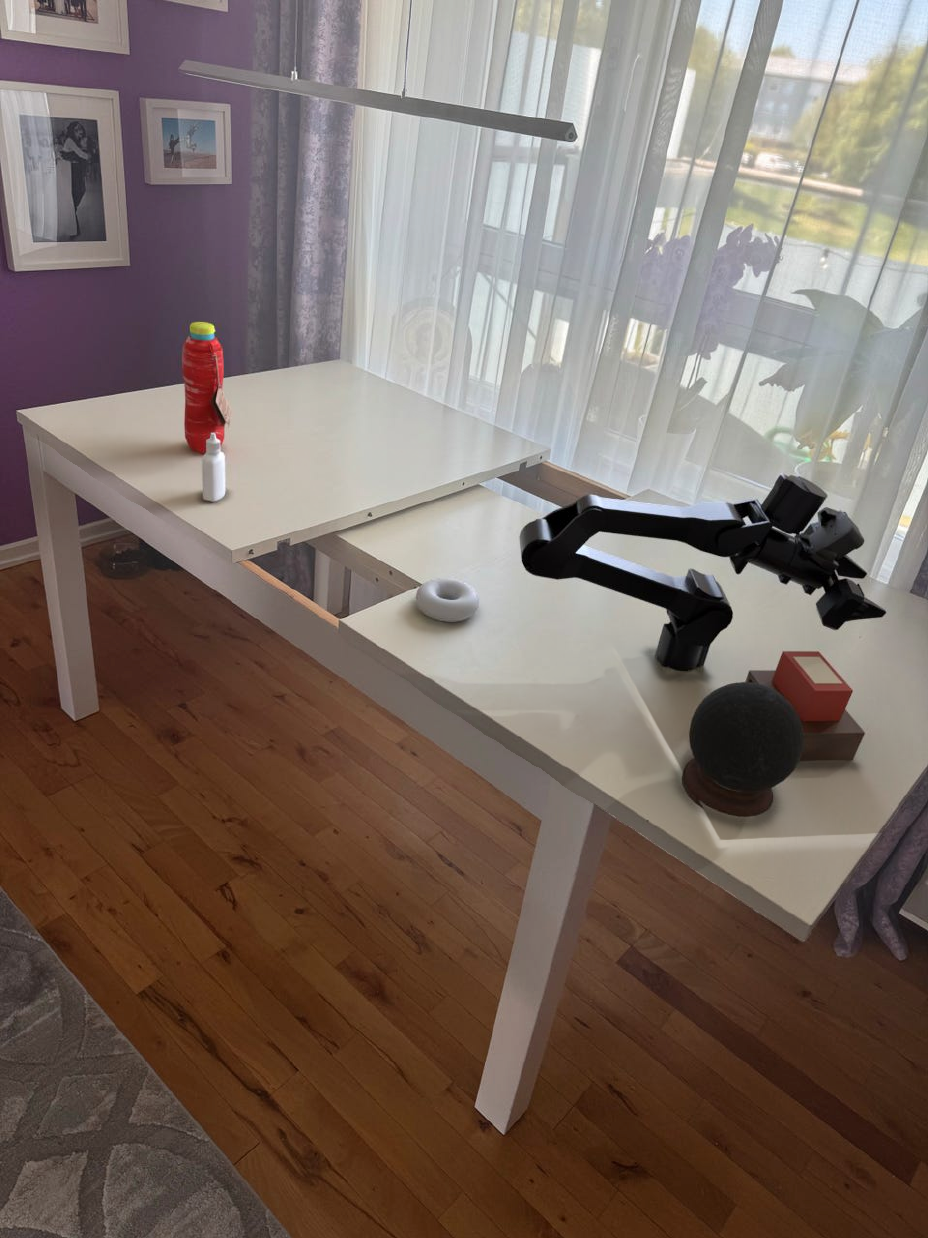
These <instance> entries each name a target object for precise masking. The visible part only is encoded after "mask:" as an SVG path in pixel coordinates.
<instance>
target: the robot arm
mask: <svg viewBox="0 0 928 1238" xmlns="http://www.w3.org/2000/svg"><path fill="white" fill-rule="evenodd" d="M827 498H828V494H827V493H826V491H824V489H822V488H821V487H819V486H818V485H817V484H815V483H814V482H812V481H810V480H809V479H807V478H805V477H803V476H801V475H797V476H796V475H792V474H790V475H787V474H785V473H780V474H779V475H778V477H777V478H776V480H775V482H774V484H773V487H772V489H771V490H770V491H769V493H768V494H767V496H766V497H765V498H764V500H763V502H762V503H760V500H759V499H757V498H751V499H747V500H746V499H745V500H742V501H737V502H732V503H731V502H727V501H706V502H705V501H700V502H697V503H694V504H690V505H688V506H675V505H668V504H658V503H648V502H641V501H635V500H634V501H632V500H625V499H616V498H608V497H601V496H599V495H595V494H586V495H584V496H582V497H580V498H579V499H577V500H576V501H574V502H573V503H570V504H568V505H565V506H562V507H560V508H557V509H555V510H553V511H551V512H549V513H548V514H546V515H545V516H543V517H542V518H535V519H534V520H532V521H530V522H528V523H526V524H525V525H524V526H523V528H522V529H521V530H520V534H519V537H518V539H519V550H520V556H521V557H520V558H521V563H522V565H523V568H524V570H525V571H526V573H529V574H530V575H532V576H535V577H540V578H544V579H552V580H558V581H559V580H567V579H580V580H582V581H585V582H587V583H591V584H594V585H597V586H599V587H602V588H605V589H607V590H611V591H613V592H617V593H620V594H622V595H626V596H628V597H631V598H634V599H636V600H640V601H643V602H645V603H648V604H651V605H654V606H657V607H660V608H662V609H665V610H666V614H667V616H668V618H669V622H668V623H663V625H662V629H661V633H660V636H659V638H658V639H659V640H658V643H657V647H656V649H655V654H654V655H655V657H656V659H657V660H658V662H659V664H660V666H661V667H662V668H669V669H671V670H674V671H678V672H684V673H685V672H691V671H694V670H695V669H697V668H701V667H703V666H704V665H705V663H706V660H707V656H708V654H709V651H710V647H711V645H712V643H713V642H714V641H715V640H716V639H717V637H718V636H719V635H720V633H721V632H722V631H724V630H726V629H727V628H728V627H729V626H730V625H731V623H732V620H733V619H734V612H733V608H732V606H731V604H730V601H729V599H728V598H727V596H726V593H725V591H724V589H723V587H722V585H721V584H720V583H719V582H718V581H717V580H716V578H715V576H714V575H713V574H704V573H702V572H699V571H698V570H696V569H695V568H691V567H690V568H688V570H687V574H686V575H683V576H671V575H668V574H666V573H663V572H660V571H657V570H655V569H652V568H649V567H646V566H644V565H641V564H638V563H635V562H632V561H629V560H628V559H627V560H626V559H624V558H621V557H619V556H615V555H612V554H610V553H607V552H604V551H601V550H600V549H599V550H598V549H596V548H593V547H590V546H587V545H585V544H586V543H587V541H588V540H589V539H590V538H592V537H593V536H595V535H596V534H598V533H599V532H600V533H606V534H607V533H609V534H616V535H625V536H631V537H632V536H633V537H641V538H649V539H658V540H659V539H660V540H666V541H667V540H668V541H675V542H679V543H683V544H686V545H689V546H690V547H692V548H694V549H696V550H697V551H700V552H703V553H706V554H709V555H714V556H716V557H720V558H729V563H730V565H731V566H732V568H733V571H734V573H735V574H736V575H741V574H742V572H743V571H744V569H746V566H747V565H748V564H750V565H753V566H755V567H758V568H761V569H762V570H765V571H767V572H770V573H772V574H774V575H775V576H777V577H778V580H779V583H781V584H783V585H785V586H786V585H788V583H789V582H792V583H794V584H797V585H800V586H801V587H802V589H803V592H804V594H807V595H809V596H812V595H813V594H814V592H815V591H816V590H820V589H822V588H823V591H824V593H823V594H822V596H820V598H819V599H818V600H817V601H816V602H815V608H816V613H817V614H818V617H819V619H820V622H821V624H822V626H823V627H825V628H828V629H830V630H833V631H838V630H839V629H841V627H842V626H843V625H844V624H845V623H846V622H851V621H859V620H871V619H880V618H881V619H882V618H883V617H885V615H886V614H887V611H886V609H884V608H883V607H881V606H880V605H878V604H877V603H875V602H874V601H872V600H870V599H869V598H867V597H865V593H864V591H863V589H862V587H861V584H860V583H856V582H854V581H853V580H851V579H857V580H858V579H860V580H864V579H865V578H866V577H867V576H868V572H867V571H866V570H865V569H864V568H862V566H860V565H859V563H857V562H856V561H854V560H853V559H852V558H851V557H850V556H848V555H849V554H850V553H852V552H853V551H854V550H859V549H860V548H861V547H862V546H863V545H864V543H865V538H864V536H863V534H862V533H861V531H860V528H859V527H858V526H857V524H856V523H855V522H854V521H853V520H852V519H851V518H850V517H849V516H848V515H849V514H848V513H847V512H846V511H842V510H841V509H839V510H837V509H833V508H831V507H828V506H825V507H823V508H821V507H822V505H823V504H824V502H826V500H827ZM820 508H821V509H820ZM816 514H817V520H818V521H816V522H812V523H810V522H811V521H812V519H813V518H814V517H815V515H816ZM745 518H748V519H749V521H750V524H747V523H746V521H745V520H744V519H745ZM809 523H810V524H809ZM792 534H794V536H793V535H792ZM840 577H842V578H840ZM849 578H851V579H849Z"/></svg>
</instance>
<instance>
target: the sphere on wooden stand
mask: <svg viewBox="0 0 928 1238" xmlns="http://www.w3.org/2000/svg"><path fill="white" fill-rule="evenodd" d="M688 736H689V746H690V750H691V753H692V756H693V758H692V759H690V760H689V761H688V762H687V763H686V764H685V767H684V768H683V772H682V774H681V783H682V787H683V789H684V791H685V793H686V795H687V796H688V797H689V798H690V799H691V800H692V802H694V803H695V804H696V805H697V806H699V808H701V809H704V807H703V805H705V806H707V807H709V808H710V809H712V810H714V811H717V812H719V813H721V814H724V815H729V816H733V817H738V818H739V817H741V818H751V817H756V816H759V815H762V814H764V813H766V812H767V811H768V810H769V809H770V808H771V807H772V805H773V803H774V793H773V788H774V787H776V786H777V785H780V784H782V783H783V782H784V781H785V780H786V779H788V778H789V776H791V774H793V772H794V771H795V769H796V768H797V766H798V764H799V762H800V761H799V760H800V757H801V754H802V751H803V741H804V733H803V728H802V724H801V721H800V718H799V716H798V714H797V712H796V711H795V709H794V707H793V706H792V705H791V704H790V703H789V701H788V700H787V699H786V698H784V697H783V696H782V695H781V694H780V693H778V692H777V691H775V690H773V689H772V688H769V687H767V686H764V685H761V684H757V683H750V682H745V681H740V682H732V683H727V684H725V685H722V686H720V687H718V688H715V689H714V690H713V691H712V692H710V693H708V695H706V696H705V697H704V698H703V699H702V700H701V702H700V703H699V704H698V706H697V707H696V709H695V711H694V713H693V714H692V717H691V720H690V726H689V732H688ZM702 804H703V805H702Z"/></svg>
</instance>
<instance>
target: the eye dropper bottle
mask: <svg viewBox="0 0 928 1238" xmlns="http://www.w3.org/2000/svg"><path fill="white" fill-rule="evenodd" d="M206 451H207V452H206V453H205V454H204V455H203V456H202V459H201V475H202V476H201V481H202V500H203V501H207V502H211V503H212V502H218V501H220V500H221V499H223V498H224V497H225V495H226V457H225V453H224V452H223V451H221V448H220V440H218V439H216V435H215V433H211V436H210V439H207V440H206Z"/></svg>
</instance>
